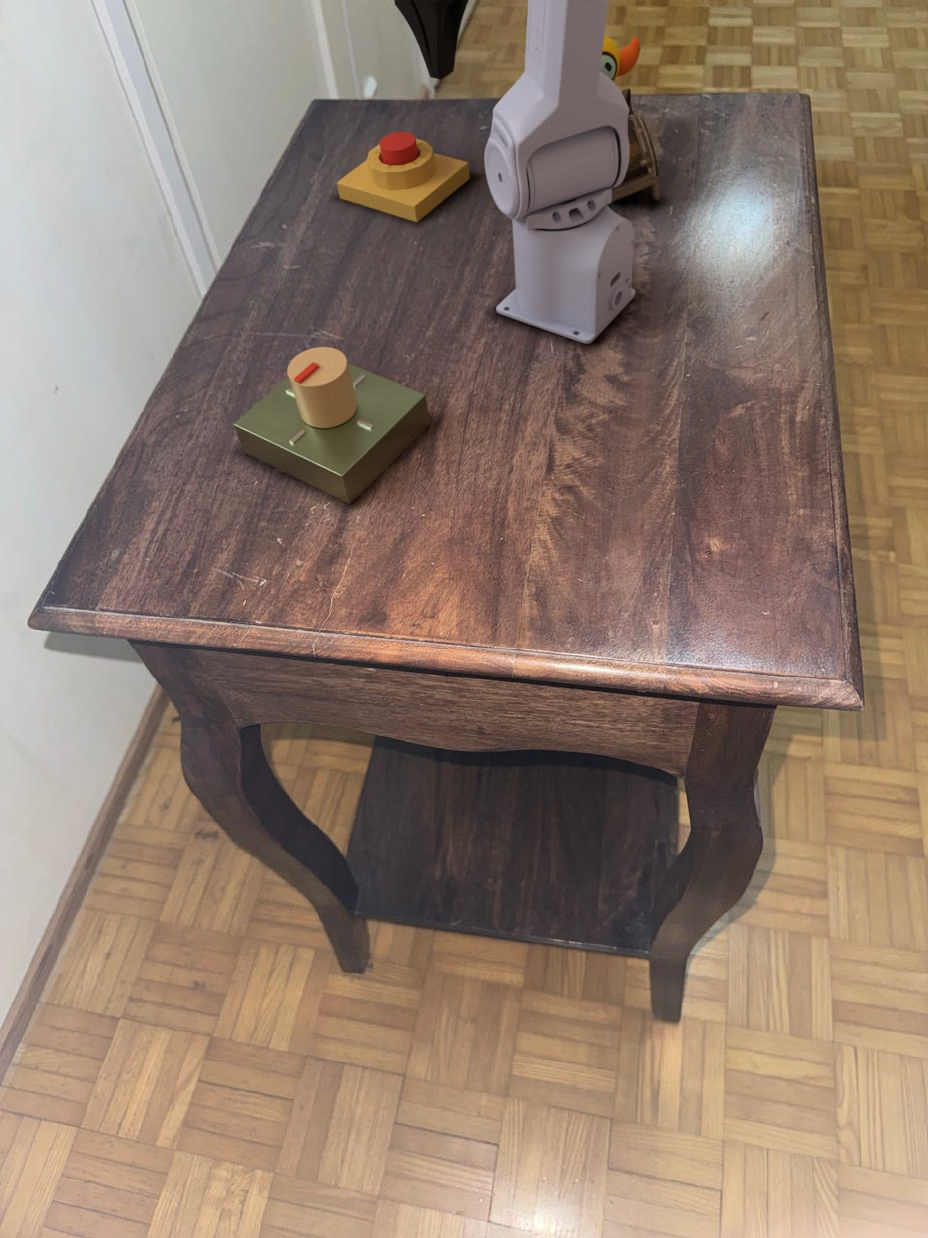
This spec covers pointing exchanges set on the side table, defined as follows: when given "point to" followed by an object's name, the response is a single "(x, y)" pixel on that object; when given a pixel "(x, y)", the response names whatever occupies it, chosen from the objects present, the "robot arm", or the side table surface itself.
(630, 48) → the duckling
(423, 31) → the robot arm
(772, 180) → the side table surface
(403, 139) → the button
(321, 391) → the knob
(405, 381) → the side table surface
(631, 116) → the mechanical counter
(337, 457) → the panel
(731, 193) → the side table surface
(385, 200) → the housing
